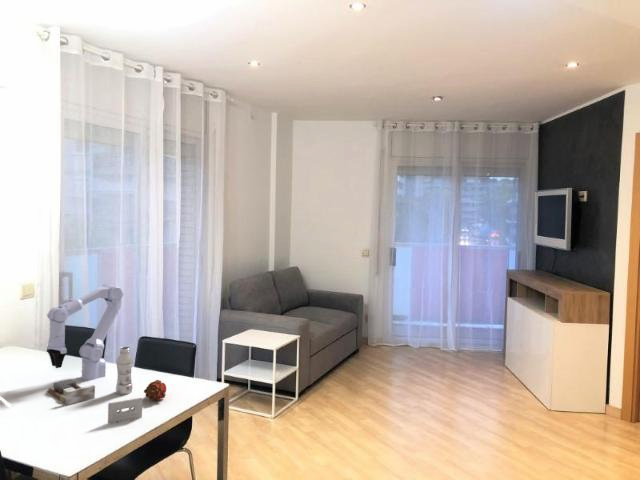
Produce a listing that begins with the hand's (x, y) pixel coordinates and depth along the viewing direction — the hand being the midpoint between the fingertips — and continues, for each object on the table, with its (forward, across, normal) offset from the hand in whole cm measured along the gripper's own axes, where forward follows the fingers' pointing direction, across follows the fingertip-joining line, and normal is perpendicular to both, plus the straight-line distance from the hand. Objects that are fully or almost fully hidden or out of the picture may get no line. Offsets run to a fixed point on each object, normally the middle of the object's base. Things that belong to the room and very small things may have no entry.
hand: (56, 366), depth 210 cm
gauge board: (+9, +14, 0) cm, 17 cm away
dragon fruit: (+10, +39, +24) cm, 47 cm away
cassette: (+10, +50, +5) cm, 51 cm away
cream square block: (+8, +14, 0) cm, 16 cm away
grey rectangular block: (+8, +8, 0) cm, 12 cm away
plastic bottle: (+10, +26, +17) cm, 33 cm away
